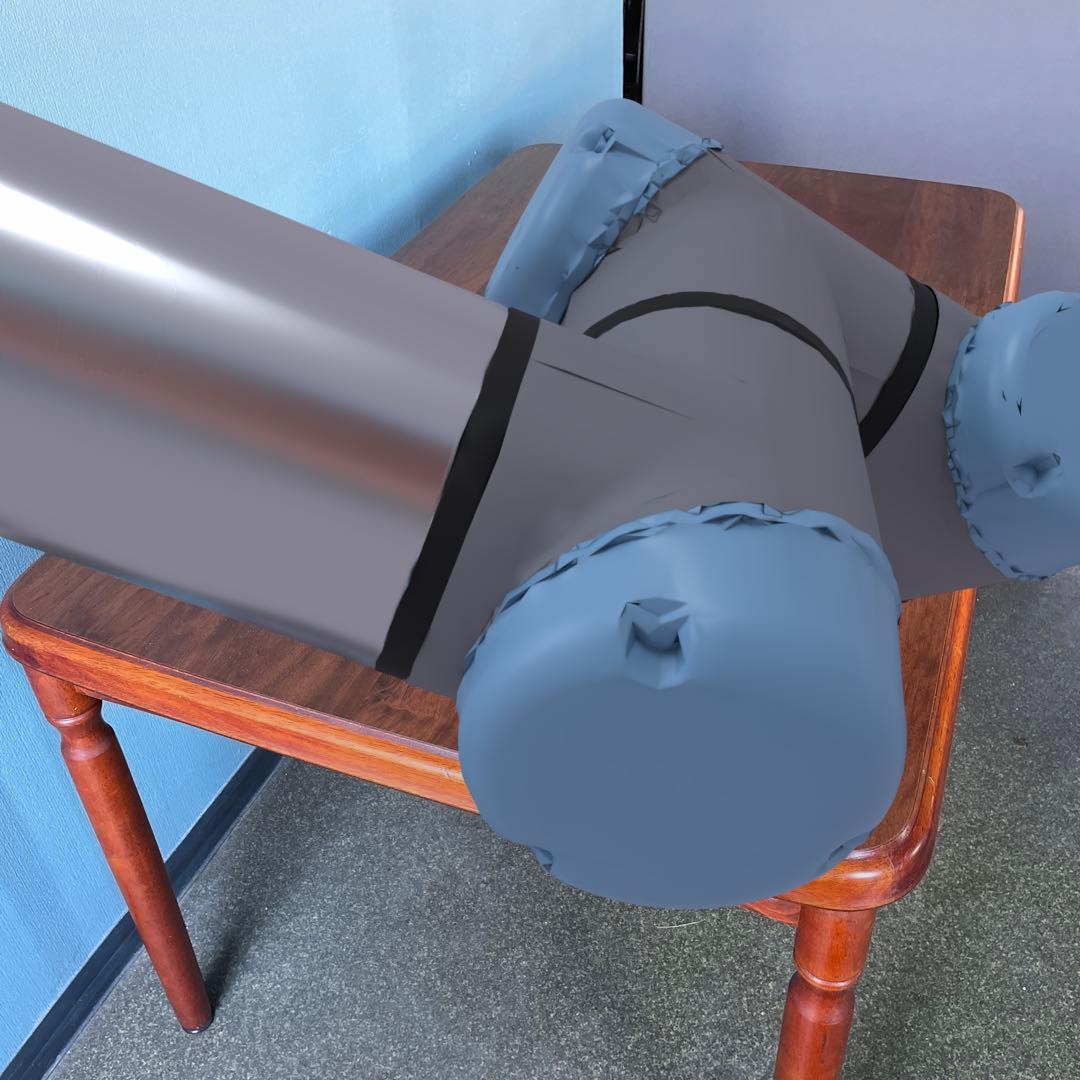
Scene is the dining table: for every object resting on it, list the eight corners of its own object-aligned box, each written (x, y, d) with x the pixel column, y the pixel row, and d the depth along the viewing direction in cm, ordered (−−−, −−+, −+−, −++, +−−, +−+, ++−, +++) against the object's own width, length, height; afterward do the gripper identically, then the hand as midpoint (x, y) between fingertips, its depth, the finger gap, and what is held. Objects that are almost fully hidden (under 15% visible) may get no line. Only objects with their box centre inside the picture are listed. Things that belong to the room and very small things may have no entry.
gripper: (560, 743, 37) (421, 750, 57) (1051, 516, 47) (787, 589, 66) (480, 544, 38) (369, 619, 58) (983, 358, 47) (740, 477, 67)
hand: (593, 603), depth 62 cm, fingers open, 13 cm apart
